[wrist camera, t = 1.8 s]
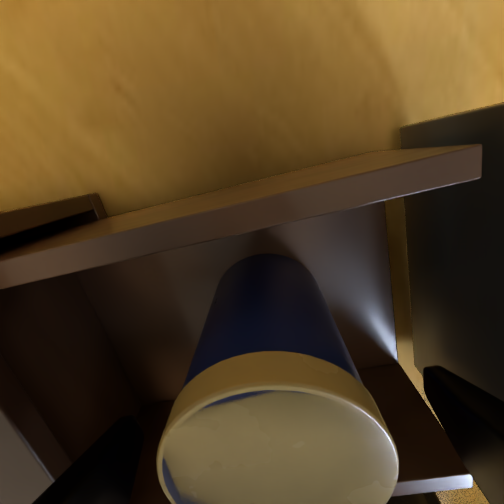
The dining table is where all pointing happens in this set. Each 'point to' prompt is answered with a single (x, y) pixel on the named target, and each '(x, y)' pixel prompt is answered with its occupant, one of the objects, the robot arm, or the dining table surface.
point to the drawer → (282, 243)
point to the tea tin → (274, 402)
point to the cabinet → (7, 385)
